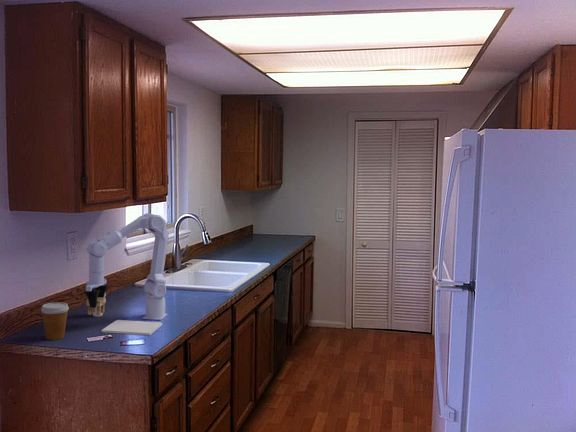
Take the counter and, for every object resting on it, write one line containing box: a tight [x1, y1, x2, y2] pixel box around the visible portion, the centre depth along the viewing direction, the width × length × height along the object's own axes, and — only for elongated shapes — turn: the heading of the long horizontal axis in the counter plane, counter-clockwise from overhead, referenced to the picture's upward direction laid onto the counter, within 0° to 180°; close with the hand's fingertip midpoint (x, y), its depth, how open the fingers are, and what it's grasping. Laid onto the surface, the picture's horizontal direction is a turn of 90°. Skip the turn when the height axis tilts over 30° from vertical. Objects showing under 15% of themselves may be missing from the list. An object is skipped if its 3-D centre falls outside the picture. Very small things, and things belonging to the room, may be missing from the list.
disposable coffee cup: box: [40, 302, 70, 341], centre depth 204 cm, size 10×10×12 cm
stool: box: [86, 297, 107, 315], centre depth 220 cm, size 5×5×6 cm
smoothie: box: [92, 292, 107, 318], centre depth 236 cm, size 6×6×14 cm
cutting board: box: [101, 319, 163, 336], centre depth 219 cm, size 15×19×1 cm
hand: (96, 305), depth 220 cm, fingers closed on stool, 5 cm apart
